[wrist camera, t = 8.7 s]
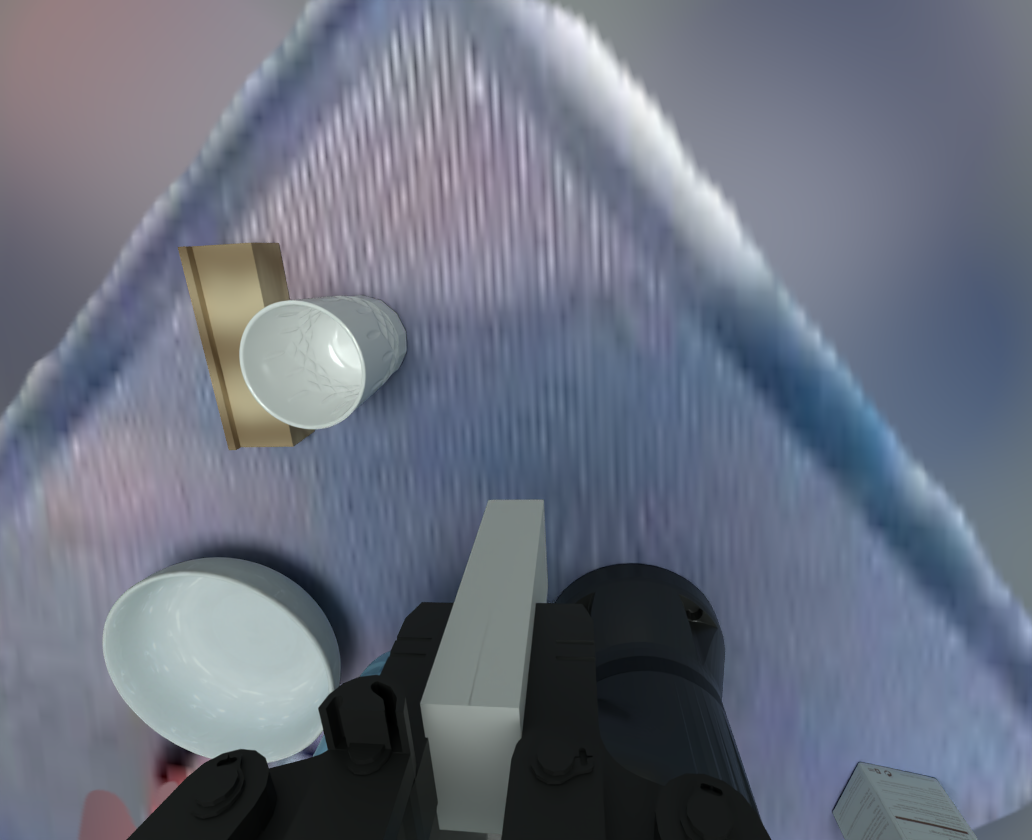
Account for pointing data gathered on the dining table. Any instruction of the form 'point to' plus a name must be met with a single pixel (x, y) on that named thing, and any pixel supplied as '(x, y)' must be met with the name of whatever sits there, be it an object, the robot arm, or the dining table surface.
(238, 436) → the brass metal channel
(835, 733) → the dining table surface
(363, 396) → the white cup
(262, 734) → the serving bowl
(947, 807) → the supplement box
